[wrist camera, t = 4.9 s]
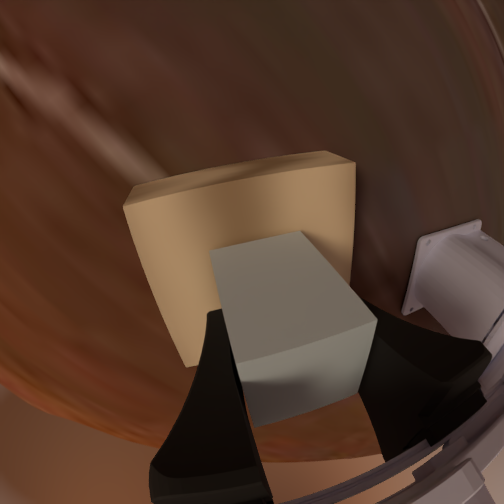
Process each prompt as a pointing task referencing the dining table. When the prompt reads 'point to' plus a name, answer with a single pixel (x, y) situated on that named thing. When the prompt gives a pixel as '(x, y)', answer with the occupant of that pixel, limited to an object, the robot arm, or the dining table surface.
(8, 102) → the dining table surface
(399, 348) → the robot arm
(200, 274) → the maple pedestal
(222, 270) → the gray block
